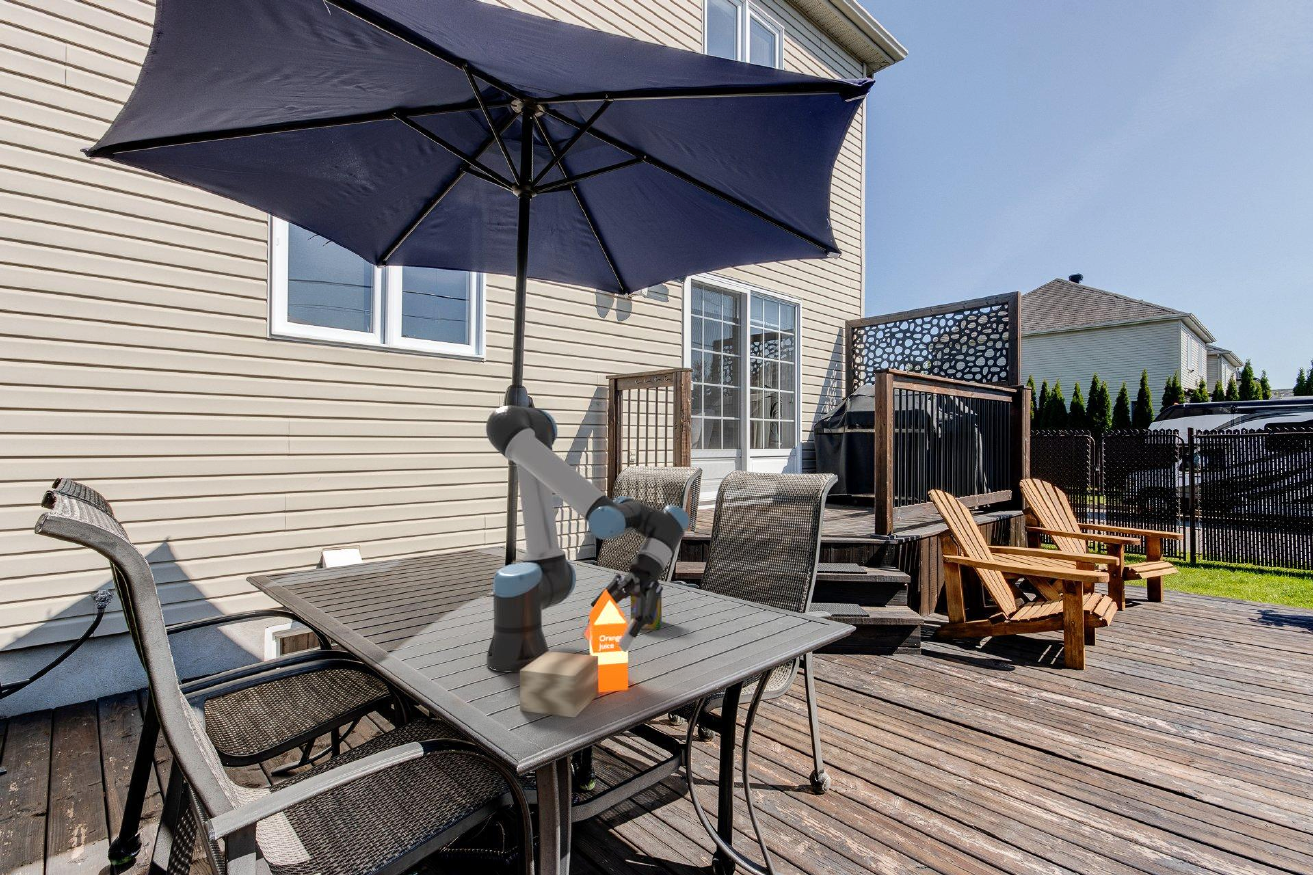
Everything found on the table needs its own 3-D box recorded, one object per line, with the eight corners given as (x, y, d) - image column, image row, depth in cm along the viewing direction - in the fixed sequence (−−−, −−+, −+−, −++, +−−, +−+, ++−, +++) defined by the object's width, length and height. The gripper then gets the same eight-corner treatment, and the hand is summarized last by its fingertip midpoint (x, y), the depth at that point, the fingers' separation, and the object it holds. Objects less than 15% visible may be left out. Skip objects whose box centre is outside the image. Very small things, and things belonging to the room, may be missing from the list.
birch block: (520, 710, 120) (519, 670, 120) (548, 687, 131) (547, 651, 131) (574, 717, 116) (574, 675, 116) (598, 693, 128) (598, 655, 128)
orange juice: (622, 673, 138) (622, 587, 138) (628, 689, 130) (628, 598, 129) (589, 675, 137) (588, 589, 136) (592, 692, 128) (591, 600, 128)
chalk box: (632, 621, 183) (631, 572, 183) (662, 621, 183) (661, 572, 183) (629, 630, 174) (629, 578, 174) (661, 630, 173) (660, 578, 174)
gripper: (695, 577, 137) (650, 664, 125) (624, 565, 153) (577, 641, 141) (680, 557, 134) (632, 644, 122) (608, 547, 149) (560, 623, 137)
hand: (603, 643), depth 131 cm, fingers closed on orange juice, 11 cm apart
